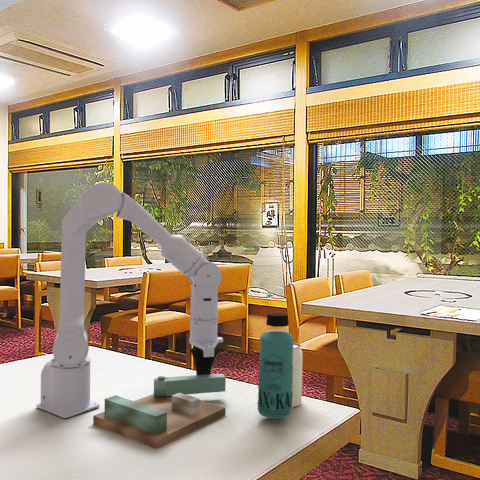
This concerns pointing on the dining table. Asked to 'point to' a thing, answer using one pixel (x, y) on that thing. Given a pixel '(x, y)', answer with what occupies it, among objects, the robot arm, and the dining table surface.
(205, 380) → the folding leg
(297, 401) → the can
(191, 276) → the robot arm
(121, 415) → the wooden board
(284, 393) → the beverage bottle
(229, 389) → the dining table surface
